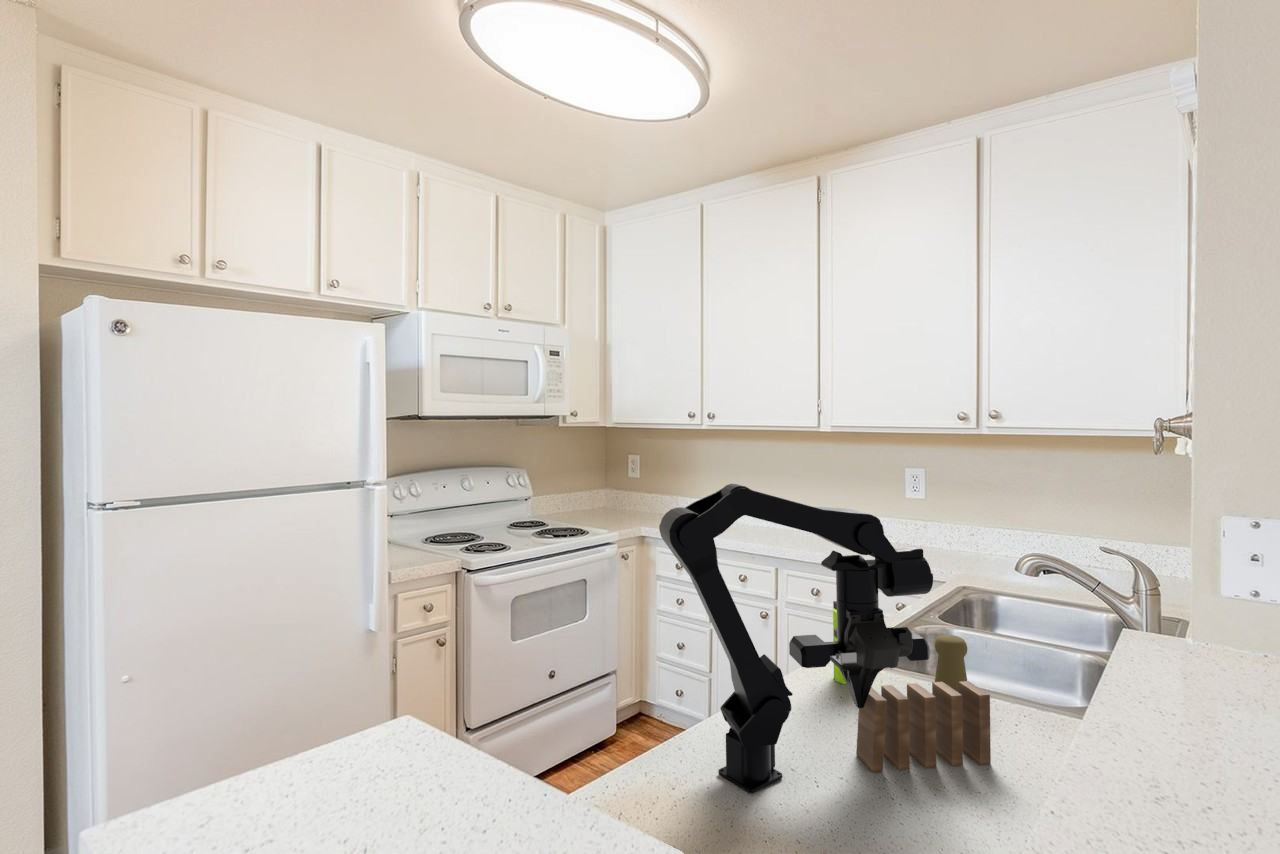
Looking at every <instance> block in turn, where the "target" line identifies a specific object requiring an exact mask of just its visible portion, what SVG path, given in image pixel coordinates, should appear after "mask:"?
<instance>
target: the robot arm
mask: <svg viewBox="0 0 1280 854" xmlns="http://www.w3.org/2000/svg"><path fill="white" fill-rule="evenodd" d="M743 516H747V517H752V518H754V519H759V520H762V521H766V522H770V523H773V524H777V525H781V526H784V527H788V528H792V529H797V530H799V531H803V532H807V533H811V534H813V535H815V536H818V537H820V538H821V539H823V540H825V541H827V542H830V543H832V544H833V545H836V546H837V547H840V548H843V549H845V550H848V551H850V552H853V553H856V554H852V555H843V554H842V553H841V552H838V551H837V550H832V551H831V552H830V554H829V555H827V556H826V557H825V558H824V559H823V560H822V561H821V562H820V564H821V566H822V567H823V568H826V569H828V570H831V571H832V572H835V578H836V579H835V582H836V583H835V586H836V593H835V594H836V601H835V600H834V601H833V602H832V603H833V605H832V607H833V609H836V610H837V629H834V636H835V637H836V638H837V641H834V642H833V641H824V640H823V639H821V638H820V637H819V636H818V635H817V634H804V635H803V634H802V635H793V637H792V638H791V639H790V641H789V643H788V644H789V645H788V646H789V647H788V648H789V649H788V650H789V651H788V652H789V655H790V657H792V658H793V659H794V660H795V661H796V663H798V665H800V667H801V668H804V669H805V668H806V669H813V668H825V667H826V666H827V665H828V664H830V662H832V663H833V665H834V664H835V665H836V666H837V667H838V668H839V669H840V671H841V673H842V675H843V677H844V679H845V682H846V684H847V685H846V684H845V685H846V686H847V689H848V691H849V694H850V696H851V698H852V701H853V703H854V706H855V707H856V708H857V709H859V708H864V705H865V703H866V700H867V697H868V695H869V692H870V689H871V687H872V686H873V683H874V682H875V679H876V678H877V676H878V674H879V673H880V672H881V671H882V670H884V669H888V668H889V669H895V668H898V664H899V661H900V658H902V657H905V658H906V659H908V660H909V661H910V662H914V661H925V660H926V661H928V660H929V659H930V646H929V644H928V641H927V640H926V639H925V638H924V637H923V636H921V635H919V634H918V633H916V632H915V631H913V630H911V629H909V628H908V627H907V626H901V627H892V626H891V627H887V624H886V621H885V616H884V615H885V614H884V609H882V608H880V607H879V590H880V591H881V593H883V595H885V596H886V597H890V598H891V597H903V596H904V597H906V596H915V595H916V596H918V595H927V594H929V593H930V592H931V590H932V588H933V584H934V574H933V573H932V571H931V567H930V564H929V562H928V560H927V559H926V558H925V557H924V549H923V548H921V547H917V546H906V547H902V548H895V547H894V546H893V544H892V543H891V542H890V541H889V539H888V538H887V537H886V535H885V532H884V526H883V524H882V523H881V519H879V518H878V517H877V516H875V515H873V514H871V513H866V512H862V511H858V510H855V509H851V508H841V507H840V508H839V507H825V506H824V507H823V506H820V507H819V506H818V507H817V506H811V505H807V504H805V503H800V502H797V501H793V500H790V499H786V498H782V497H778V496H775V495H771V494H767V493H764V492H761V491H756V490H752V489H751V488H749V487H747V486H745V485H742V484H737V483H729V484H726V485H725V486H724V487H722V488H721V489H719V490H717V491H716V492H714V493H712V494H709V495H706V496H705V497H702V498H700V499H698V500H696V501H694V502H692V503H690V504H689V505H687V506H685V507H675V508H672V509H670V510H668V511H667V512H666V513H665V514H664V515H663V516H662V518H661V520H660V524H659V527H658V528H659V530H658V531H659V534H660V538H661V539H662V540H663V542H664V543H665V545H666V546H667V548H668V549H669V551H670V552H671V553H672V555H673V556H674V557H675V559H676V560H677V562H679V564H680V565H681V567H682V568H683V569H684V570H685V571H686V573H687V575H688V576H689V577H690V580H691V581H692V584H693V586H694V588H695V591H696V592H697V595H698V597H699V599H700V601H701V604H702V606H703V608H704V610H705V611H706V614H707V616H708V618H709V621H710V622H711V623H710V624H711V625H712V627H713V629H714V631H715V634H716V637H717V639H718V640H719V642H720V645H721V647H722V649H723V650H724V653H725V655H726V657H727V659H728V662H729V665H730V666H729V668H730V677H731V682H732V686H733V689H734V691H733V692H732V694H731V695H730V696H729V697H728V698H727V699H726V700H725V701H724V703H723V704H722V705H721V706H720V712H721V714H722V717H723V719H724V721H725V722H726V723H727V724H728V725H729V727H730V728H729V729H728V732H727V733H725V766H723V767H720V768H719V769H717V770H718V772H717V773H718V775H719V776H720V777H723V778H725V779H726V780H728V781H729V782H731V783H732V784H734V785H736V786H738V787H740V788H741V789H743V790H744V791H746V792H748V793H754V792H757V791H758V790H761V789H762V788H765V787H767V786H770V785H771V784H773V783H775V782H777V781H779V780H781V779H782V778H783V773H782V772H781V771H779V770H777V769H775V768H776V748H775V747H776V744H777V743H778V740H779V737H780V734H781V731H782V728H783V726H784V723H786V721H787V720H788V718H789V716H790V713H791V711H792V703H791V699H790V697H792V696H793V692H792V691H790V689H789V688H788V687H787V685H786V683H785V679H784V675H783V672H782V670H781V668H780V667H779V666H778V665H777V664H775V662H774V661H773V660H771V659H770V658H769V656H768V655H766V654H762V655H761V656H759V654H758V652H757V649H756V647H755V645H754V642H753V640H752V638H751V636H750V633H749V632H748V630H747V627H746V625H745V623H744V621H743V619H742V617H741V614H740V613H739V610H738V608H737V606H736V603H735V602H734V599H733V597H732V595H731V592H730V591H729V588H728V586H727V584H726V582H725V579H724V577H723V575H722V572H721V571H720V569H719V568H720V567H719V563H718V562H719V561H718V554H717V546H716V542H715V538H716V537H718V536H719V535H721V534H723V533H724V532H725V531H727V530H728V529H729V528H730V527H731V526H733V524H734V523H735V522H737V521H738V520H739V519H741V518H742V517H743ZM863 556H870V557H873V558H874V559H865V558H864V557H863ZM872 688H873V687H872Z"/></svg>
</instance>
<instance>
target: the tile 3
mask: <svg viewBox="0 0 1280 854" xmlns="http://www.w3.org/2000/svg"><path fill="white" fill-rule="evenodd" d="M906 697H907V698H908V699H909V747H910V755H911V756H913V758H914V759H915V760H917V761H918V763H920V764H921V765H922V766H923V767H924V768H925V769H932V768H937V767H938V766H937V752H936V697H935V696H934V695H932V693H931V692H930V691H928V689H925V688H924V687H923V686H922V685H920V684H919V683H917V682H916V683H906Z"/></svg>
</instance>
